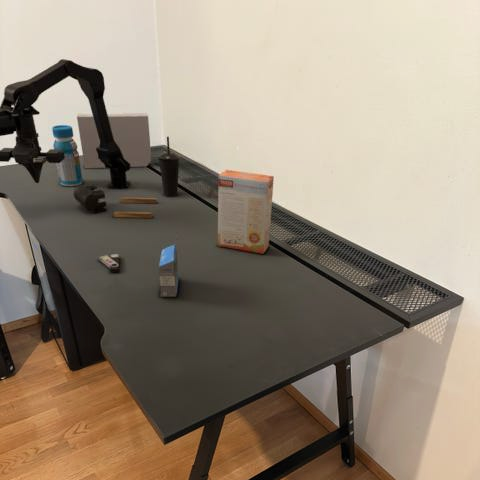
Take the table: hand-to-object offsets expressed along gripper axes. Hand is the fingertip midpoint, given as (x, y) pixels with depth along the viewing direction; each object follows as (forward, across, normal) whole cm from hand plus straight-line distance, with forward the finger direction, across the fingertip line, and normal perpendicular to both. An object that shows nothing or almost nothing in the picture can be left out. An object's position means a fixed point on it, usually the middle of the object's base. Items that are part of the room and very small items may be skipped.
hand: (37, 182), depth 146 cm
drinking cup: (+8, +41, +16) cm, 45 cm away
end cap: (+8, +16, 0) cm, 18 cm away
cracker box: (+8, +66, -26) cm, 72 cm away
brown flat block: (+8, +31, 0) cm, 32 cm away
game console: (+8, +16, +48) cm, 52 cm away
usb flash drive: (+8, +30, -40) cm, 50 cm away
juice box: (+8, +47, -50) cm, 69 cm away
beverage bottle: (+8, +3, +24) cm, 26 cm away
